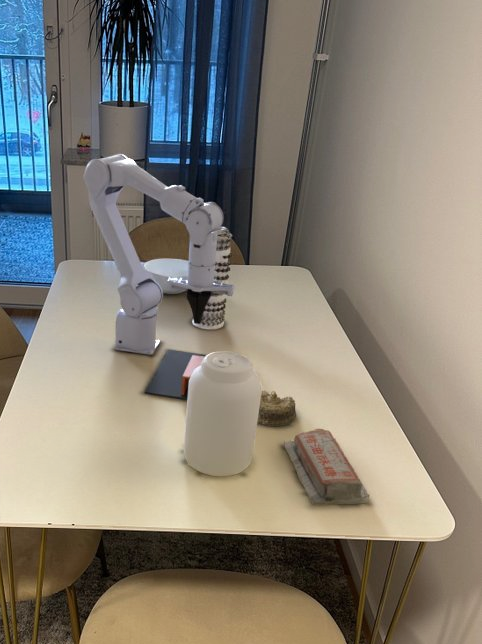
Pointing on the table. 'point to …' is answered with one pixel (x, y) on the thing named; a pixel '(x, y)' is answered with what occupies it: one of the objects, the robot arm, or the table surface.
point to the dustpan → (190, 371)
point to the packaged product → (325, 469)
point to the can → (222, 414)
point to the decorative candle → (216, 305)
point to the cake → (276, 410)
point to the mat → (171, 375)
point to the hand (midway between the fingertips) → (197, 322)
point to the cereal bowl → (167, 272)
